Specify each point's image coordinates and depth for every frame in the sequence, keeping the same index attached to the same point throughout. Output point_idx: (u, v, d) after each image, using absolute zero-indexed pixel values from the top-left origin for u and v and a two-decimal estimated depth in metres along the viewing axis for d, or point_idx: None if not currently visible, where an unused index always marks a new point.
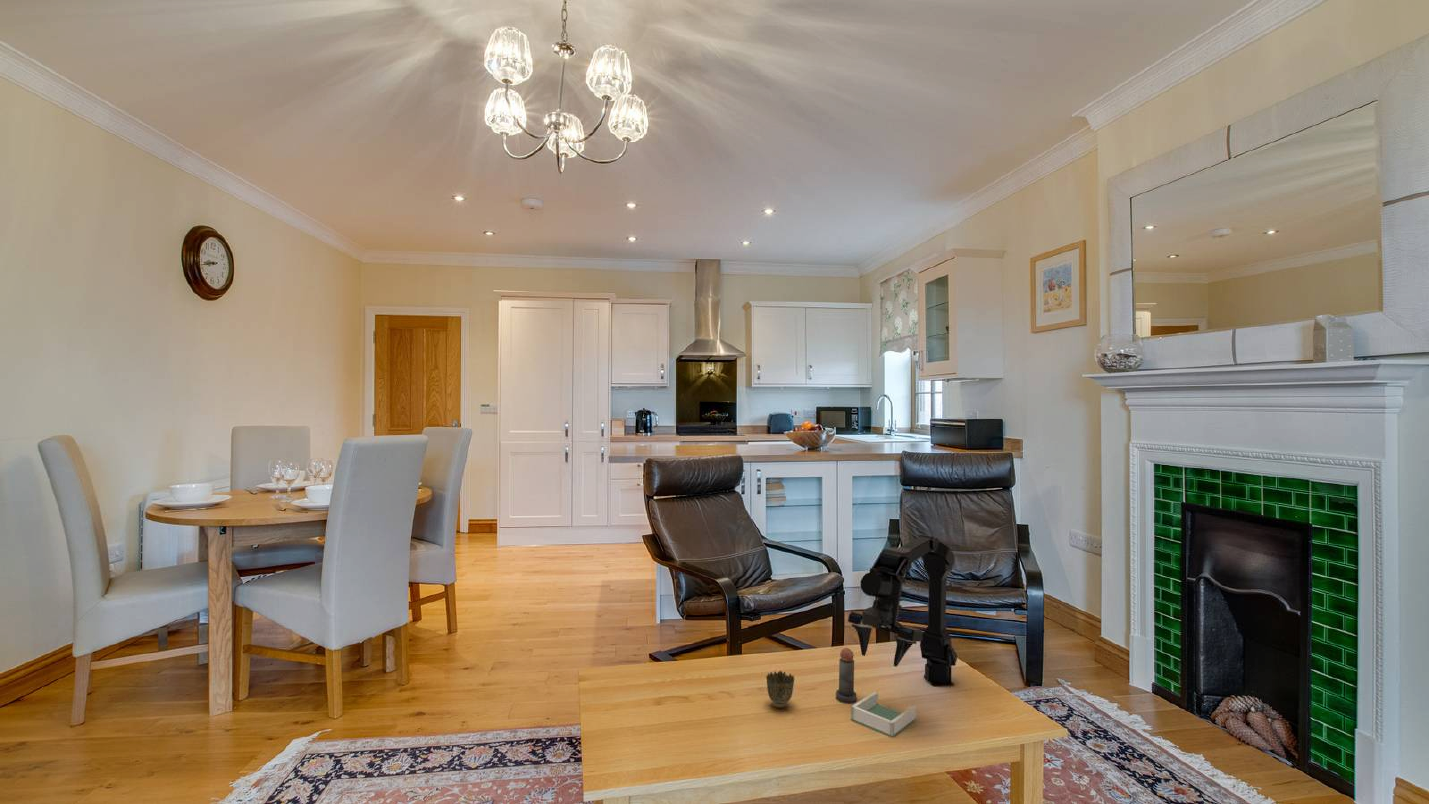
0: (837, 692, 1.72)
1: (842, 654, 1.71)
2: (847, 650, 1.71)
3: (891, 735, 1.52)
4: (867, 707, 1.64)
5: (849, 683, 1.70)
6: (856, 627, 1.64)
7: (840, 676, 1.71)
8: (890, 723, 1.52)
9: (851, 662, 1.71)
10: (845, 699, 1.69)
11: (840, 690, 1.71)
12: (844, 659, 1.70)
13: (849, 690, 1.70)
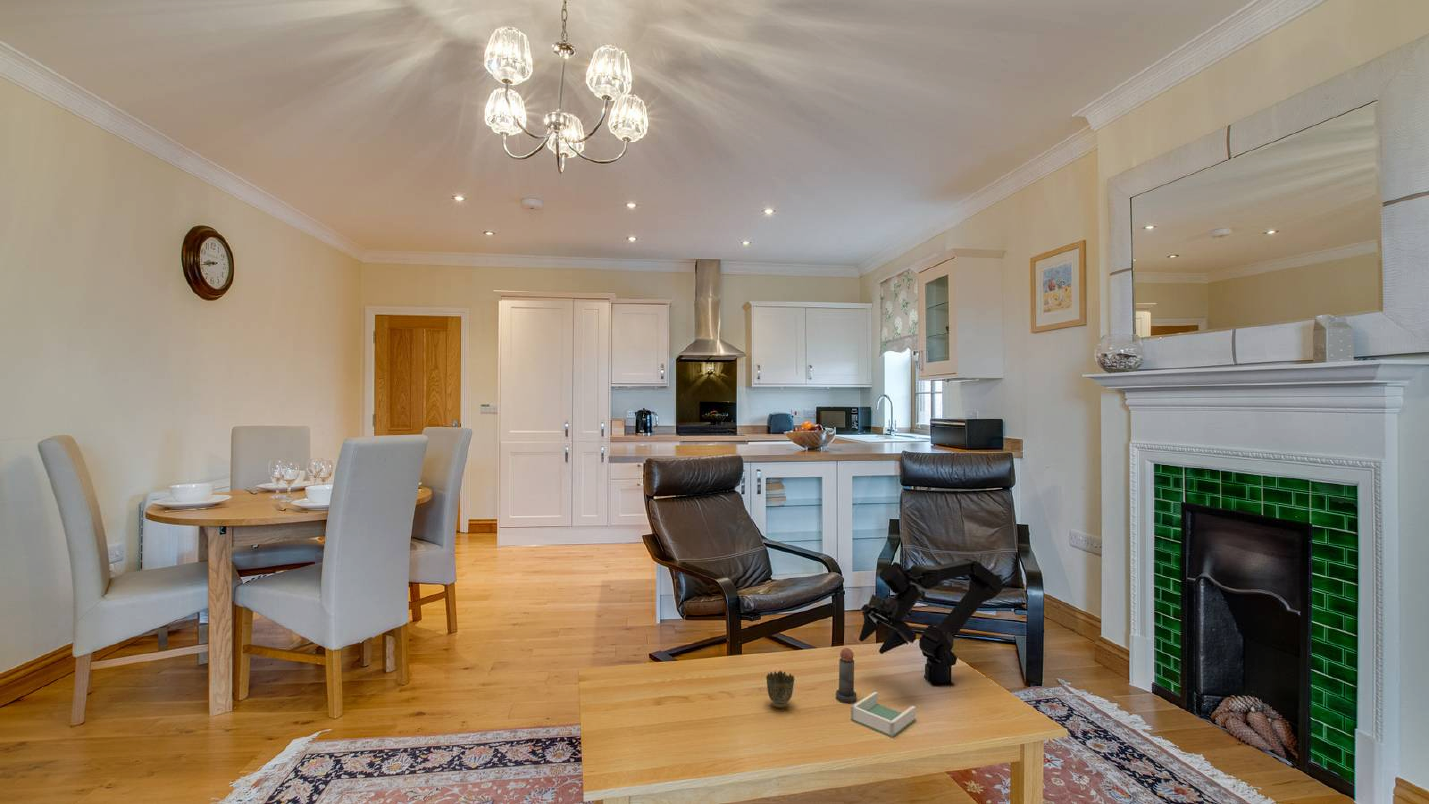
0: (837, 692, 1.72)
1: (842, 654, 1.71)
2: (847, 650, 1.71)
3: (891, 735, 1.52)
4: (867, 707, 1.64)
5: (849, 683, 1.70)
6: (864, 614, 1.81)
7: (840, 676, 1.71)
8: (890, 723, 1.52)
9: (851, 662, 1.71)
10: (845, 699, 1.69)
11: (840, 690, 1.71)
12: (844, 659, 1.70)
13: (849, 690, 1.70)
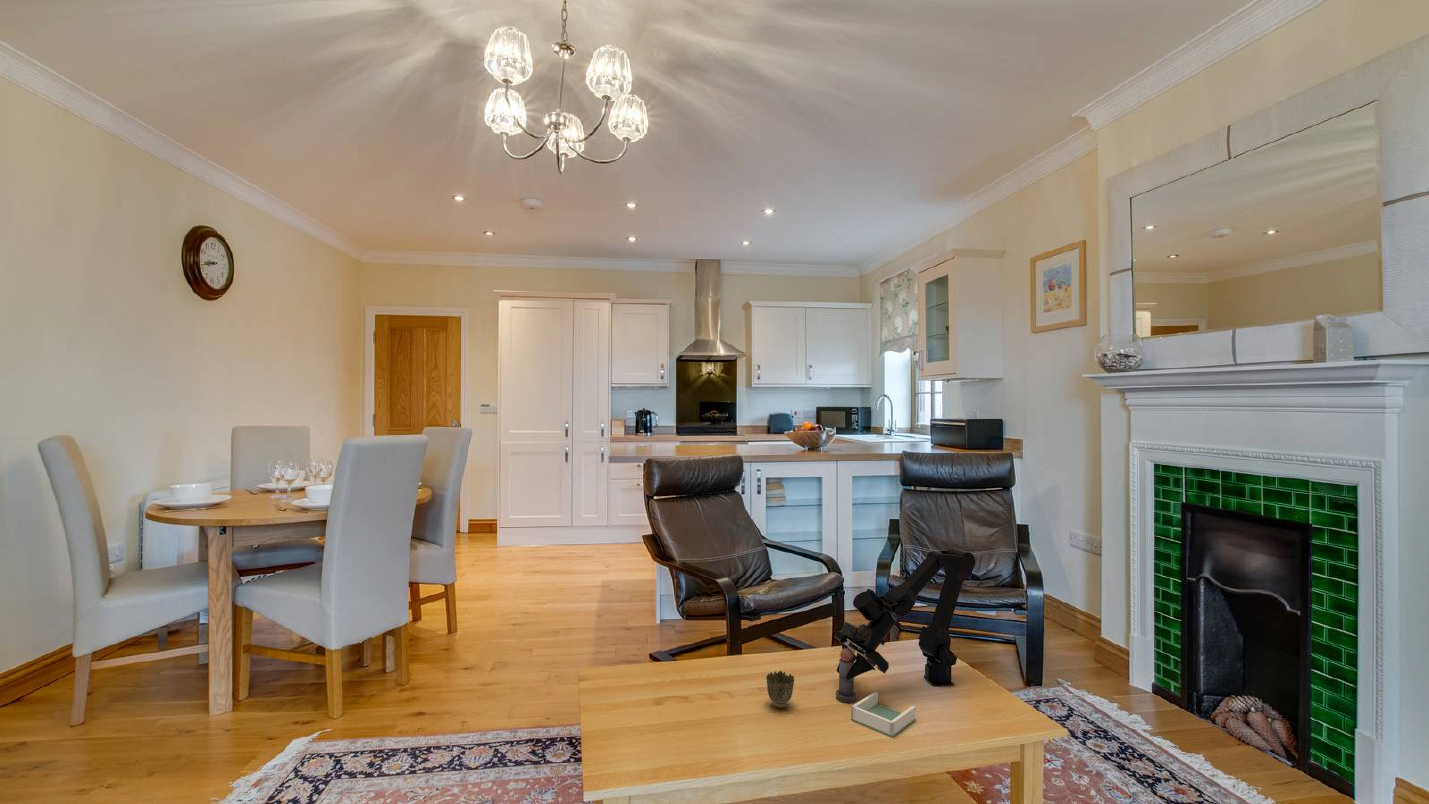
0: (837, 692, 1.72)
1: (842, 654, 1.71)
2: (847, 650, 1.71)
3: (891, 735, 1.52)
4: (867, 707, 1.64)
5: (849, 683, 1.70)
6: (843, 645, 1.76)
7: (840, 676, 1.71)
8: (890, 723, 1.52)
9: (851, 662, 1.71)
10: (845, 699, 1.69)
11: (840, 690, 1.71)
12: (844, 659, 1.70)
13: (849, 690, 1.70)
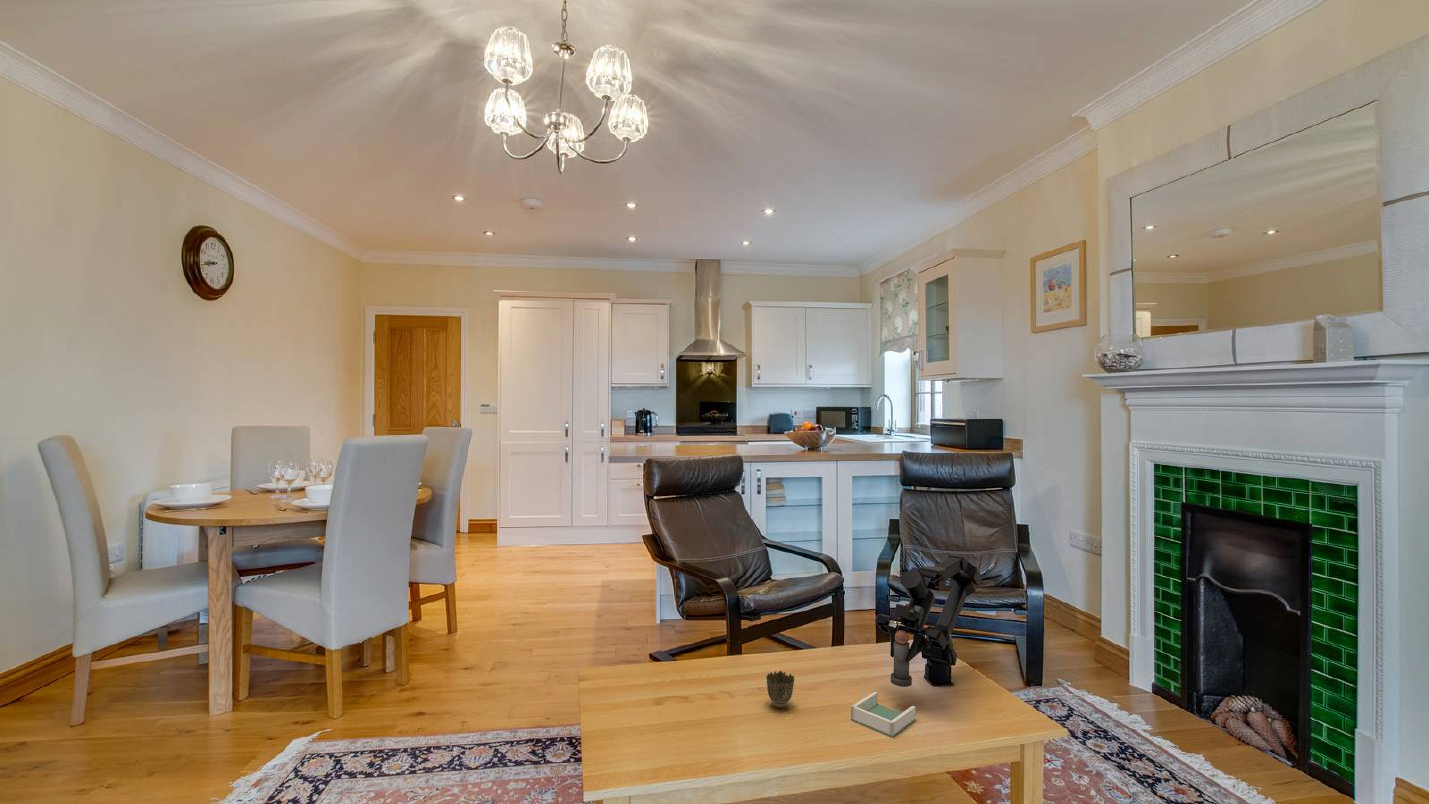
0: (893, 677, 1.67)
1: (899, 637, 1.66)
2: (903, 632, 1.66)
3: (891, 735, 1.52)
4: (867, 707, 1.64)
5: (907, 666, 1.66)
6: (891, 628, 1.71)
7: (897, 660, 1.66)
8: (890, 723, 1.52)
9: (907, 644, 1.67)
10: (905, 682, 1.64)
11: (898, 674, 1.66)
12: (902, 642, 1.66)
13: (907, 672, 1.66)
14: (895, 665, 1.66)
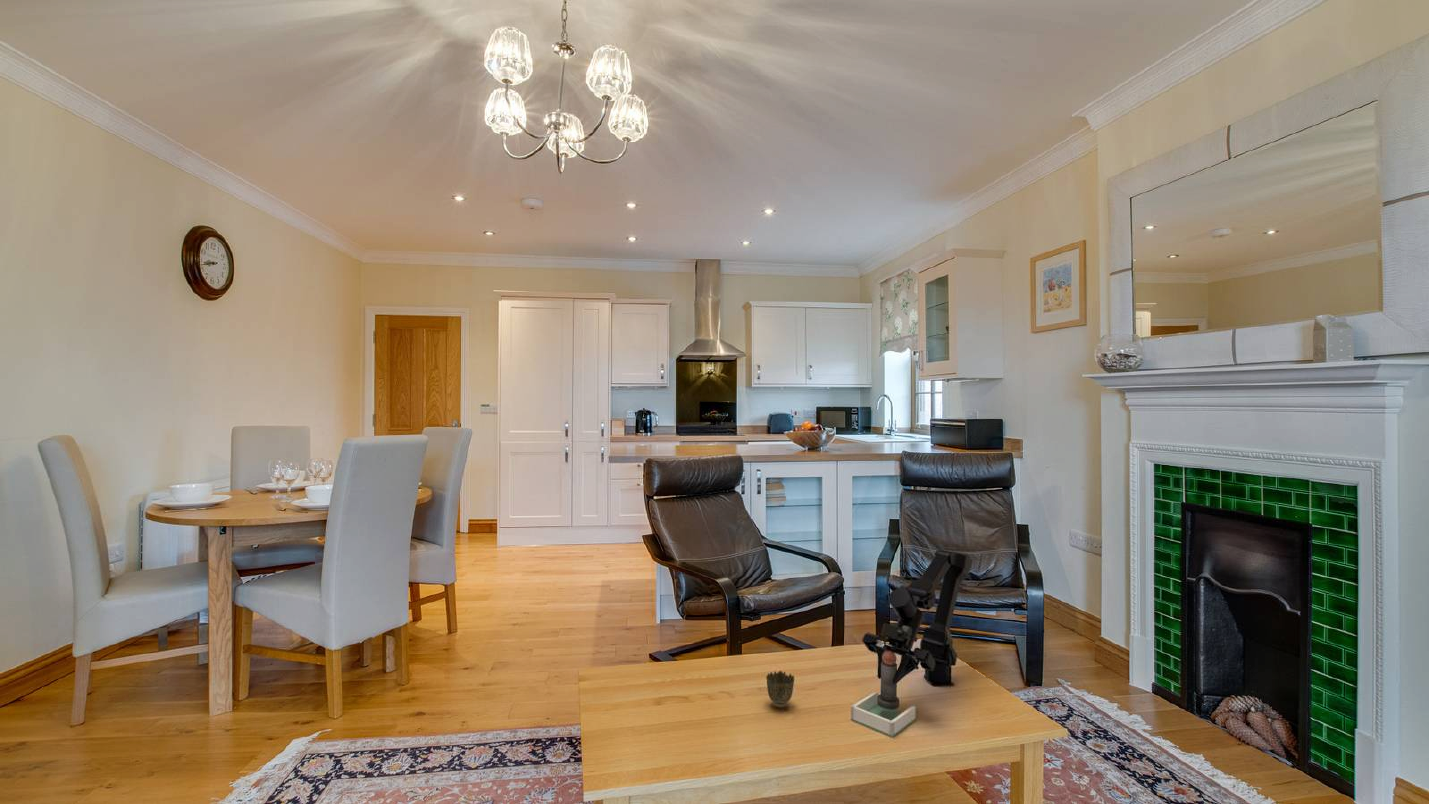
0: (880, 699, 1.62)
1: (887, 658, 1.61)
2: (891, 653, 1.61)
3: (891, 735, 1.52)
4: (867, 707, 1.64)
5: (895, 688, 1.61)
6: (878, 648, 1.66)
7: (885, 681, 1.61)
8: (890, 723, 1.52)
9: (895, 665, 1.61)
10: (892, 705, 1.59)
11: (885, 696, 1.61)
12: (889, 663, 1.61)
13: (895, 694, 1.61)
14: (882, 687, 1.61)
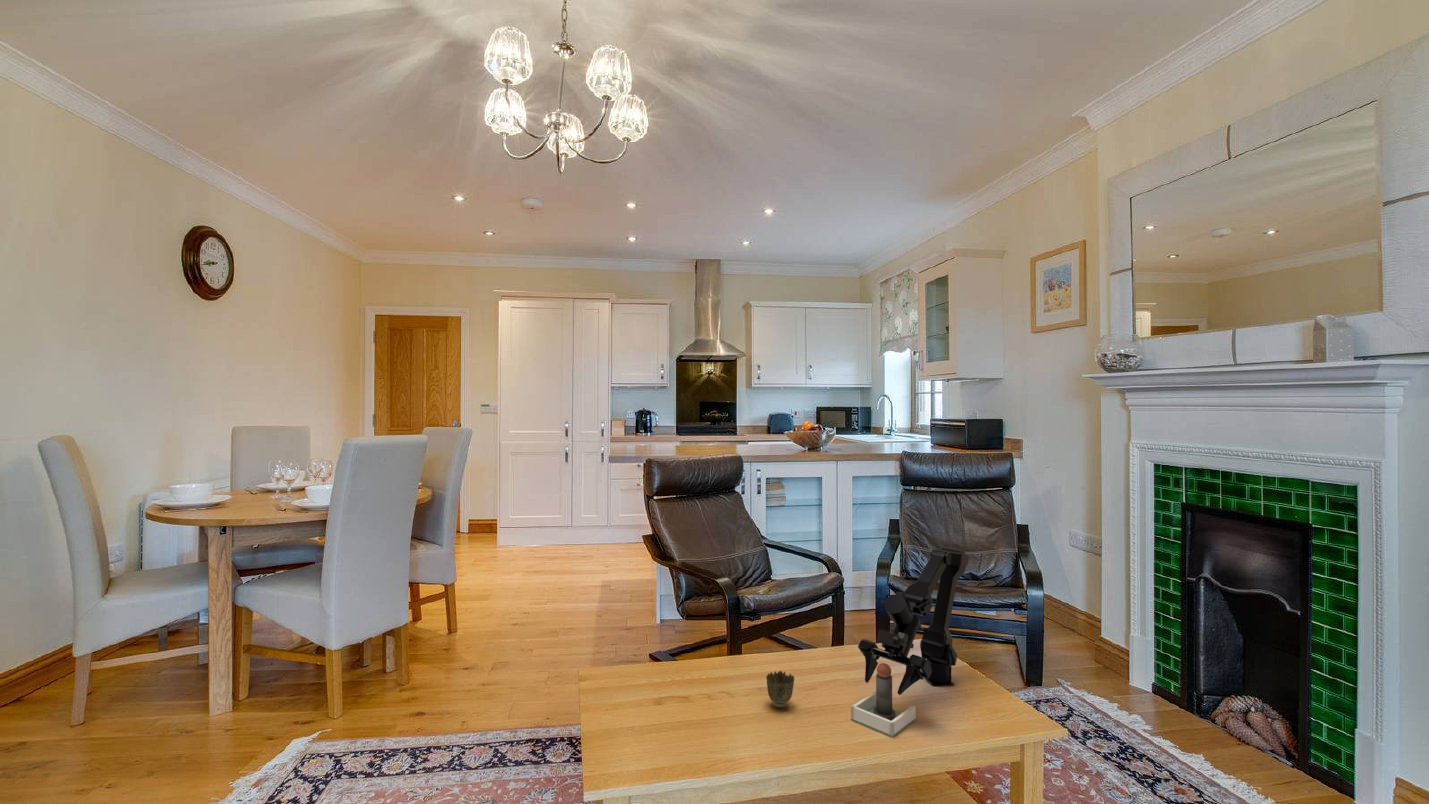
0: (876, 712, 1.60)
1: (881, 671, 1.59)
2: (885, 665, 1.60)
3: (891, 735, 1.52)
4: (867, 707, 1.64)
5: (890, 700, 1.59)
6: (866, 652, 1.66)
7: (880, 695, 1.59)
8: (890, 723, 1.52)
9: (890, 677, 1.60)
10: (888, 718, 1.58)
11: (880, 709, 1.59)
12: (884, 676, 1.59)
13: (891, 707, 1.59)
14: (878, 700, 1.60)
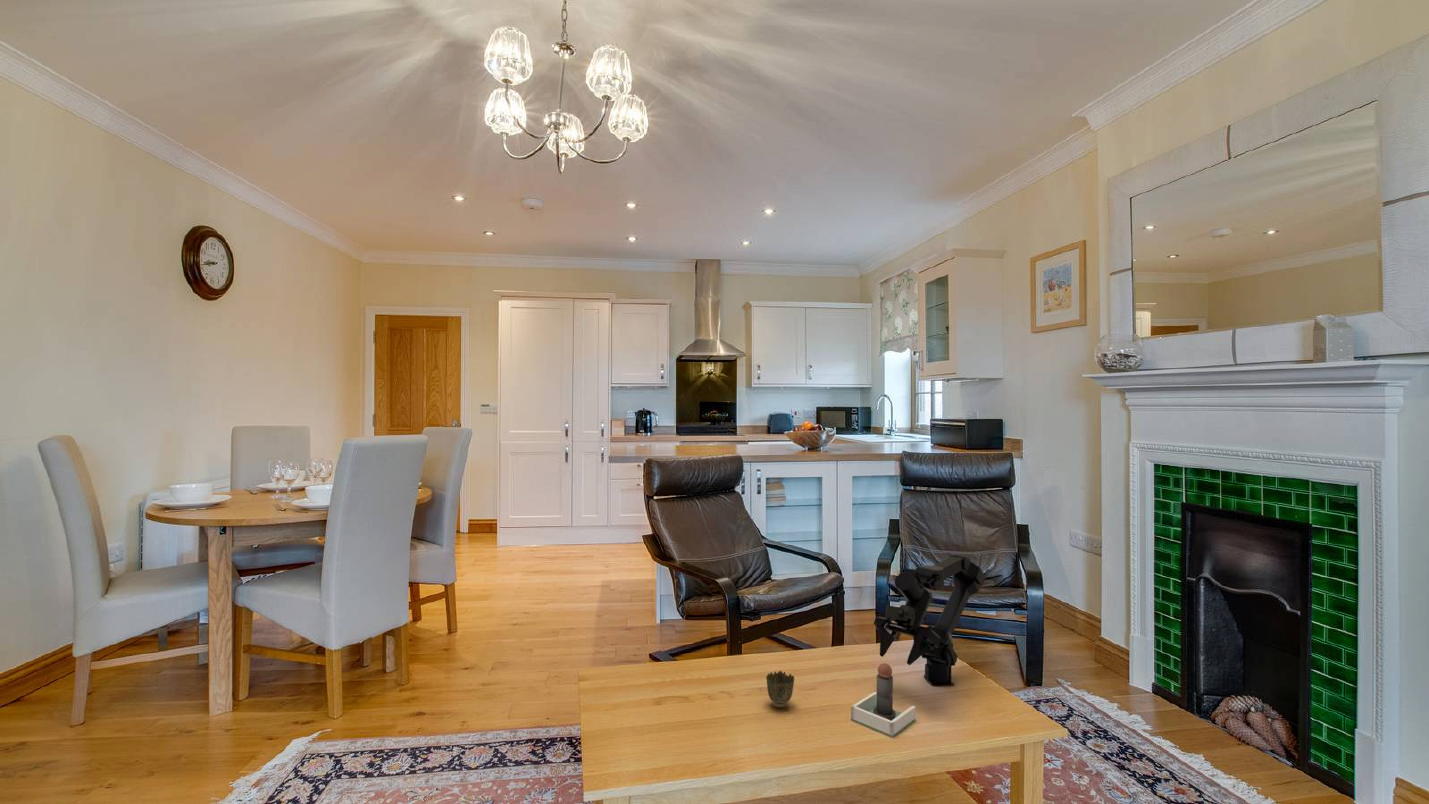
0: (876, 712, 1.60)
1: (882, 671, 1.59)
2: (886, 666, 1.60)
3: (891, 735, 1.52)
4: (867, 707, 1.64)
5: (891, 701, 1.59)
6: (879, 628, 1.75)
7: (880, 695, 1.59)
8: (890, 723, 1.52)
9: (891, 678, 1.60)
10: (889, 718, 1.58)
11: (881, 710, 1.59)
12: (885, 676, 1.59)
13: (891, 707, 1.59)
14: (878, 700, 1.60)
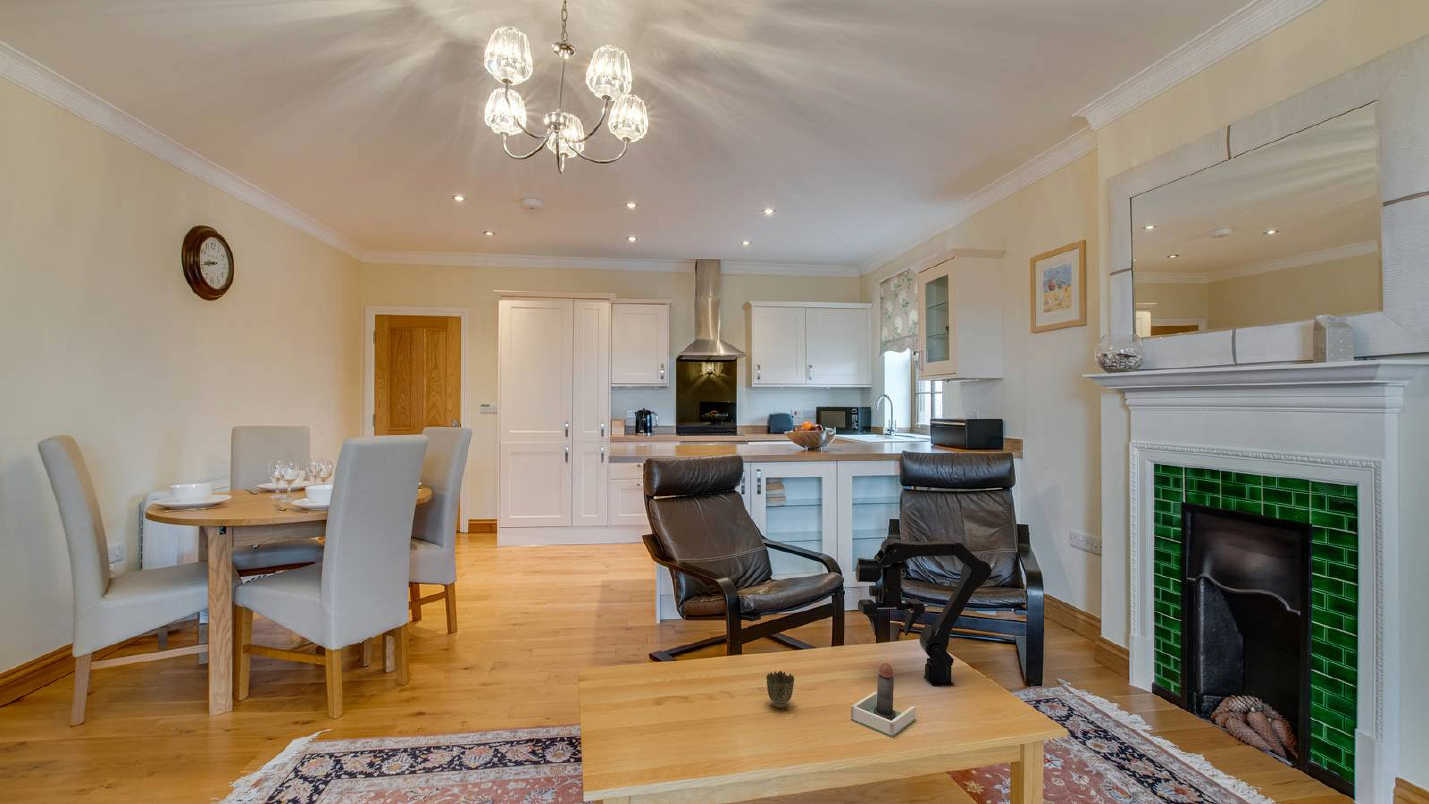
0: (876, 712, 1.60)
1: (884, 671, 1.59)
2: (888, 665, 1.60)
3: (891, 735, 1.52)
4: (867, 707, 1.64)
5: (891, 701, 1.59)
6: None
7: (881, 694, 1.59)
8: (890, 723, 1.52)
9: (892, 678, 1.60)
10: (889, 718, 1.58)
11: (881, 709, 1.59)
12: (886, 676, 1.59)
13: (891, 707, 1.59)
14: (879, 700, 1.60)
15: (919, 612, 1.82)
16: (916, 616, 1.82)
